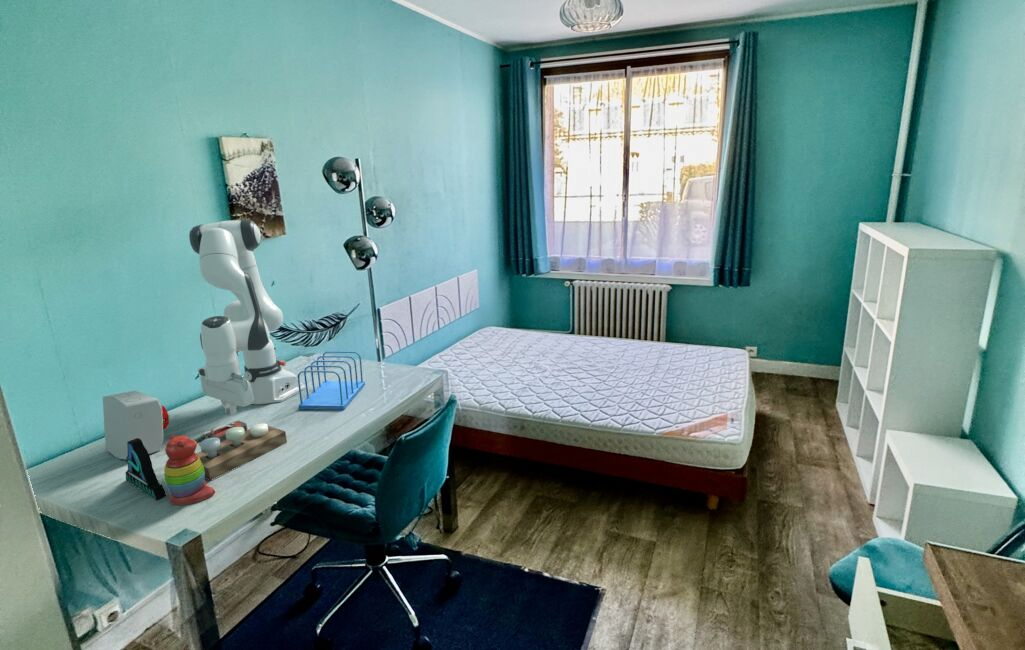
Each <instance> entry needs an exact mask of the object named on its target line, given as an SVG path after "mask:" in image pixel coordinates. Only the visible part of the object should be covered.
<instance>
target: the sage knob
mask: <svg viewBox="0 0 1025 650" xmlns="http://www.w3.org/2000/svg"><path fill="white" fill-rule="evenodd" d="M225 433H226V439H227V440H228V441H232V443H233V447H235V448H236V447H238V446H240V445H242V443H241V439H242V438H244V437H245V431H244V428H243V427H234V428H231V429H228V430H227V431H226V432H225Z"/></svg>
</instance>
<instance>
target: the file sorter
mask: <svg viewBox="0 0 1025 650" xmlns="http://www.w3.org/2000/svg"><path fill="white" fill-rule="evenodd" d="M328 353H331V354H333V353H334V354H335V353H336V354H337V353H338V354H339V353H340V354H348V353H349V354H356V355H358V358H359V366H360V367H359V370H360V371H359V373H360V381H359V380H358V371H357V362H356V359H355V358H354V357H353V356H350V355H326V354H328ZM325 358H347V359H348V358H349V359H351V360H352V361H353V364H354V373H355V380H353V374H352V372H353V371H352V366H351V364H350V363H349V361H347V360H325ZM319 359H321V360H319ZM315 363H316V364H315ZM319 363H322V365H319ZM325 363H345V364H347V365H348V368H349V375H350V376H349V377H350V380H347V372H346V369H345V368H344V367H342V365H341V366H340V365H326V364H325ZM314 364H315V365H314ZM362 367H363V366H362V356H361V354H360V353H359V352H358V351H354V350H353V351H352V350H351V351H349V350H347V351H346V350H340V351H339V350H338V351H337V350H333V351H332V350H328V351H325V352H324V353H323V354H322V355H320V356H319V357H317V359H316V360H314V361H312V362H311V363H310V365H307V366H306V367H305V368H304V370H302V371H300V372H299V373H298V374H297V379H298V386H299V392H298V393H299V399H300V401H299V402H300V403H299V404H298V410H334V411H335V410H339V411H340V410H343V411H344V410H345V409H346V408H347V407H348V406H349V404H350V403H351V402H352V400H354V398H356V396H357V395H358V394H359V393H360V391H362V389H363V388H364V387H365V386H366V381H363V369H362ZM308 368H310V370H307V369H308ZM313 368H316V370H313ZM320 368H323V370H320ZM326 368H339V369H341V370H342V371H343V376H344V377H343V378H344V380H341V376H340V373H338V372H337V371H334V370H326ZM307 373H310V374H311V375H310V376H311V382H312V384H311V385H312V392H311V393H310V394H309V389H308V388H309V387H308V381H307V379H308V378H307ZM314 373H317V377H318V378H317V379H318V380H317V381H318V386H317V387H316V388H315V381H314ZM320 373H323V377H324V380H323V382H322V383H321V375H320ZM327 373H330V374H331V373H333V374H335V375H336V376H337V377H338V380H327V375H326V374H327ZM301 374H303V375H304V382H305V384H304V385H305V389H306V391H305V392H306V397H305V398H304V399H303V398H302V391H301V387H300V383H301V381H300V378H301V377H300V375H301ZM364 385H365V386H364Z"/></svg>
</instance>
